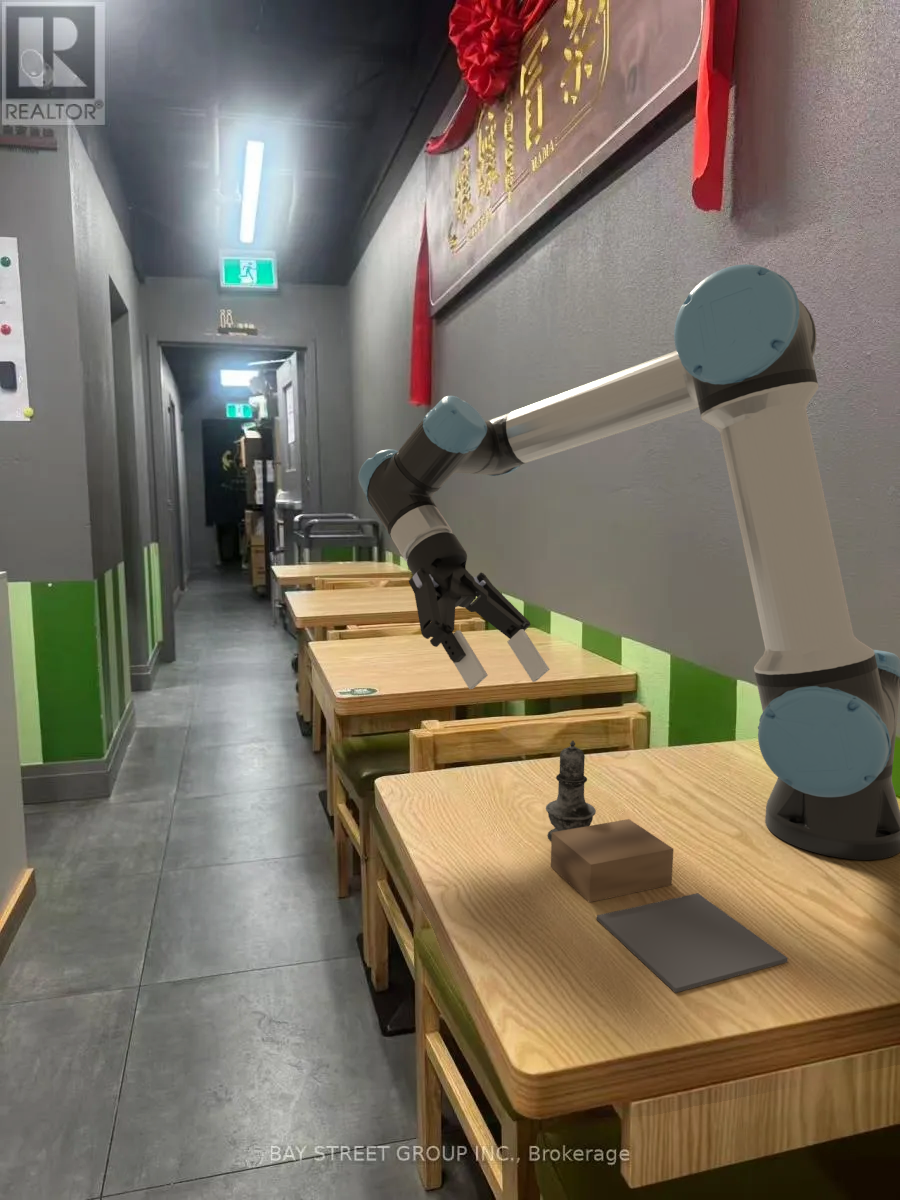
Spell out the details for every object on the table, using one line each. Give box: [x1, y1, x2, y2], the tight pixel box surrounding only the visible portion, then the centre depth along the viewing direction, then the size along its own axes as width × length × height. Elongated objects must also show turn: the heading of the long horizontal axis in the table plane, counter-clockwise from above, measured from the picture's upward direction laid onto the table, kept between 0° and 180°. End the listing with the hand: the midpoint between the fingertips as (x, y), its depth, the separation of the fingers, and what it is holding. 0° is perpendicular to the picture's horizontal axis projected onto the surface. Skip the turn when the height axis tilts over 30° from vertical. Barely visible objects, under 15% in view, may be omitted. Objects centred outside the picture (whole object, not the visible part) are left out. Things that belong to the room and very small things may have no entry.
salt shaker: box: [545, 740, 597, 842], centre depth 93 cm, size 6×6×12 cm
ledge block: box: [550, 818, 674, 903], centre depth 84 cm, size 8×10×4 cm
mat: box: [596, 892, 789, 993], centre depth 72 cm, size 12×12×1 cm
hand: (511, 679), depth 96 cm, fingers open, 13 cm apart
